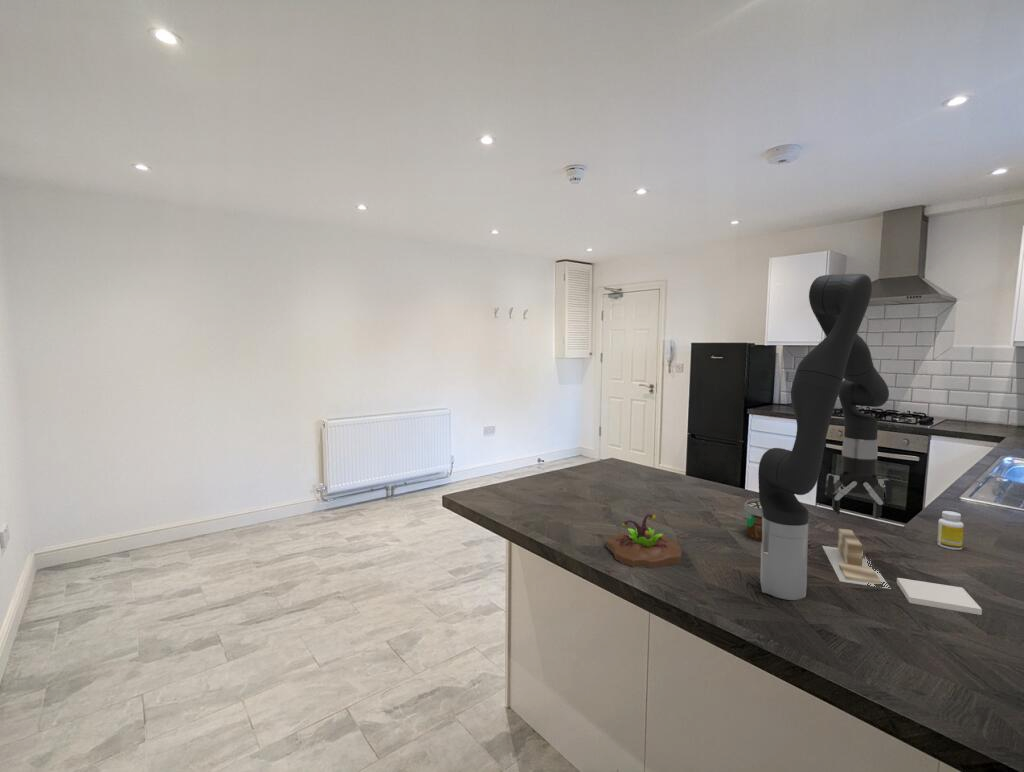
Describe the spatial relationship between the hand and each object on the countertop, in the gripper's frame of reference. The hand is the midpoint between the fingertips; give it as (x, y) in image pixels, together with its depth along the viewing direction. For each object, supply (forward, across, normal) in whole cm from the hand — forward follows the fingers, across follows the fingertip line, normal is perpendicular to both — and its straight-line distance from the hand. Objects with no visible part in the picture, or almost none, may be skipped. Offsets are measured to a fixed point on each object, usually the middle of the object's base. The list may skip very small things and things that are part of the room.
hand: (856, 515), depth 128 cm
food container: (+13, -23, +11) cm, 28 cm away
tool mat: (+12, -1, -4) cm, 13 cm away
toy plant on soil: (+14, -52, -14) cm, 56 cm away
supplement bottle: (+12, +27, +20) cm, 36 cm away
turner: (+12, -1, -4) cm, 13 cm away
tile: (+12, +12, -12) cm, 21 cm away
